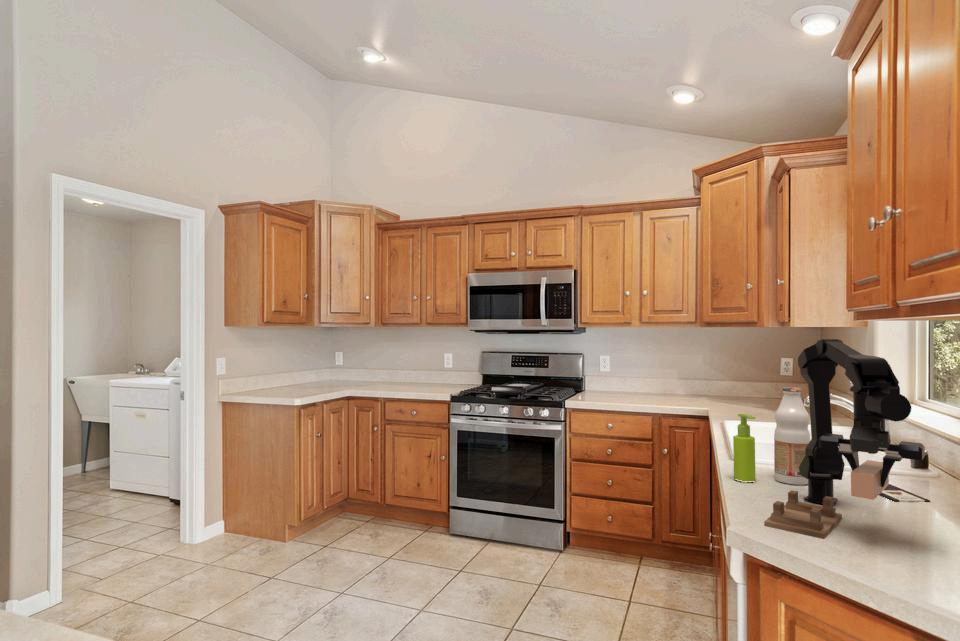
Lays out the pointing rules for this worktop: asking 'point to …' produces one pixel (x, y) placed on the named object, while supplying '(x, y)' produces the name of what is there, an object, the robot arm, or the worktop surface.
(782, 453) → the fruit juice
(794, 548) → the worktop surface
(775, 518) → the drying rack
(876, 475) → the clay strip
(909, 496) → the chocolate bar
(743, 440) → the soap dispenser
